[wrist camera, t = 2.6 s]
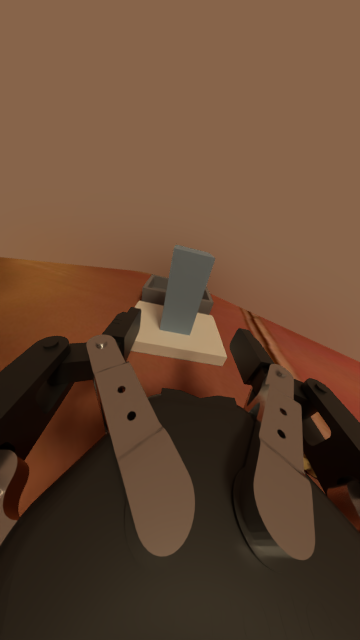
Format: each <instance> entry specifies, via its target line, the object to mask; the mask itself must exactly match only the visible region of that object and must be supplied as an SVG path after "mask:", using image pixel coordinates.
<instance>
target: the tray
mask: <svg viewBox="0 0 360 640" xmlns="http://www.w3.org/2000/svg"><path fill="white" fill-rule="evenodd" d="M168 280H169V278H166V277H162V276H157V275H153V274H152V275H151V277H150V278H149V280H148V281H147V282H146V284H145V285H144V287H143V291H142V301H143V302H148V303H153V304H158V305H163V306H164V302H165V297H166V291H167V285H168ZM213 303H214V302H213V300H212V298H211V296H210V293H209V291H208V289H207V287H206V288H205V291H204V294H203V297H202V300H201V303H200V306H199V309H198V312H197V313H202V314H206V315H209V313H210V311H211V308H212V306H213Z"/></svg>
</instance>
